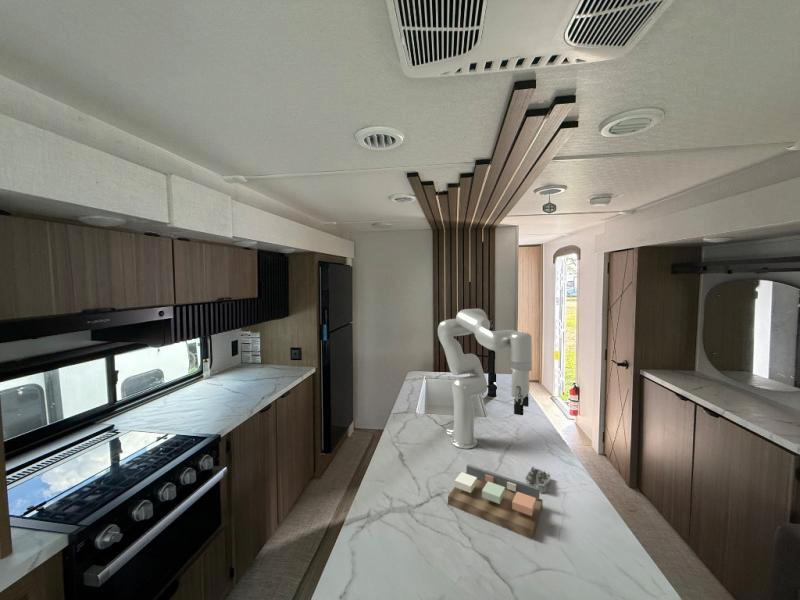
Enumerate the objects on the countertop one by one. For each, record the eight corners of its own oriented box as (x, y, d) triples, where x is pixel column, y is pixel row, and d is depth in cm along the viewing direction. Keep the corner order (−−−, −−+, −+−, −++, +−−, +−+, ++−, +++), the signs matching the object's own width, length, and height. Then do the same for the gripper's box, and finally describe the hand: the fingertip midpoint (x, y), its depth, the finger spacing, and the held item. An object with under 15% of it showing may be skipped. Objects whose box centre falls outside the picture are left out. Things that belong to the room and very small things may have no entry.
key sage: (481, 497, 110) (482, 490, 110) (487, 487, 115) (487, 481, 115) (499, 504, 107) (499, 497, 107) (504, 493, 112) (505, 487, 112)
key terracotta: (512, 508, 105) (512, 501, 104) (516, 498, 110) (516, 491, 109) (531, 516, 101) (531, 509, 101) (535, 505, 106) (535, 498, 106)
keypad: (447, 504, 114) (447, 485, 113) (465, 480, 127) (465, 463, 126) (532, 539, 98) (532, 517, 98) (542, 508, 111) (542, 488, 111)
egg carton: (545, 496, 118) (545, 485, 118) (523, 488, 122) (524, 477, 122) (551, 481, 126) (552, 471, 126) (531, 474, 131) (532, 464, 131)
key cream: (454, 486, 116) (454, 480, 116) (461, 478, 121) (461, 472, 121) (470, 493, 112) (470, 486, 112) (476, 483, 117) (477, 477, 117)
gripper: (515, 359, 132) (516, 401, 132) (505, 369, 117) (505, 416, 118) (535, 361, 128) (536, 404, 128) (527, 371, 113) (527, 420, 114)
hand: (521, 410), depth 123 cm, fingers open, 9 cm apart
